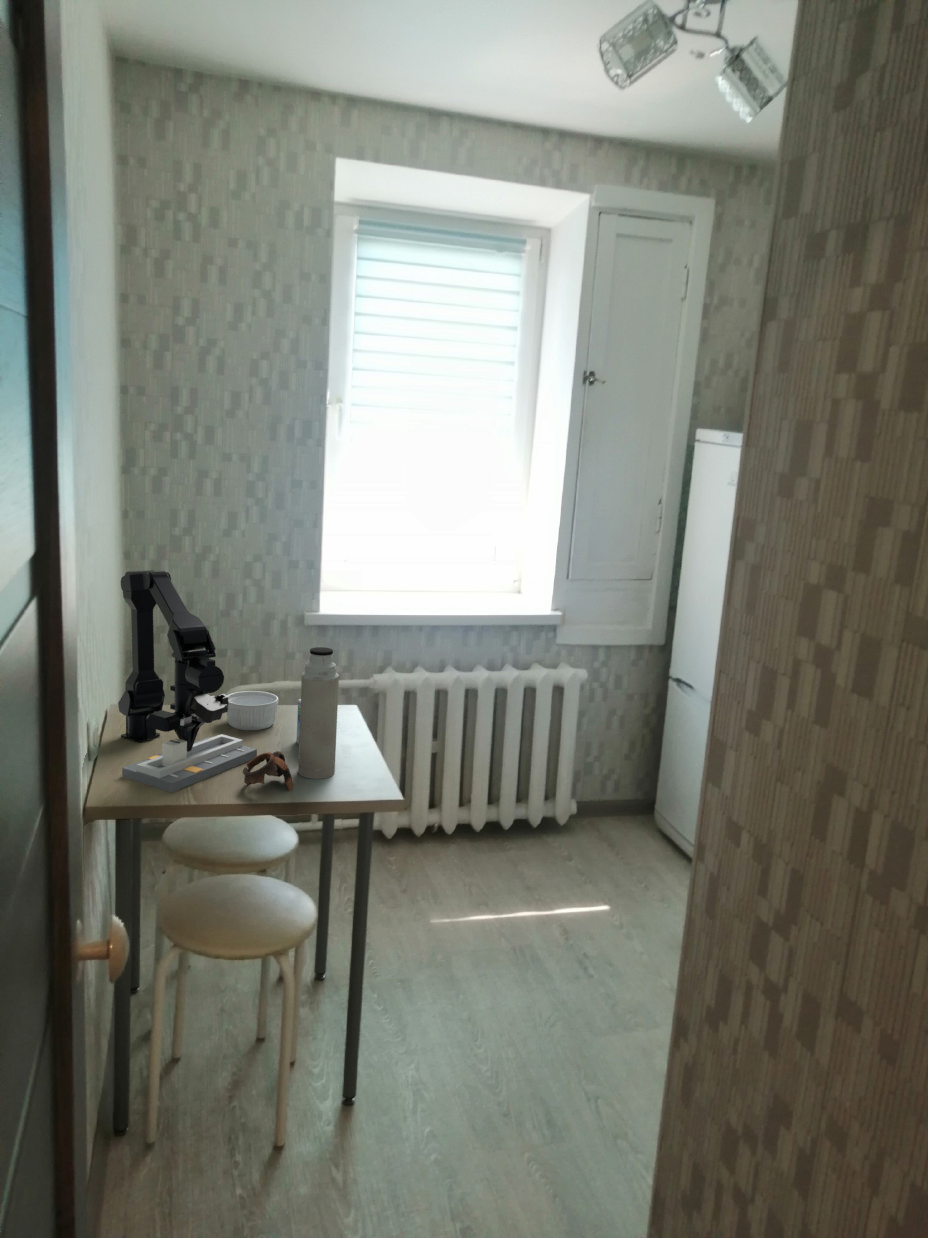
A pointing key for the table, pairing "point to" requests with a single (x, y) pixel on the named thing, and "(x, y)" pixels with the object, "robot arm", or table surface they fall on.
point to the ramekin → (251, 710)
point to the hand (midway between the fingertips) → (187, 751)
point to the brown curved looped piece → (268, 769)
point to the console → (191, 764)
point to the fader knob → (173, 751)
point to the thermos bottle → (318, 715)
